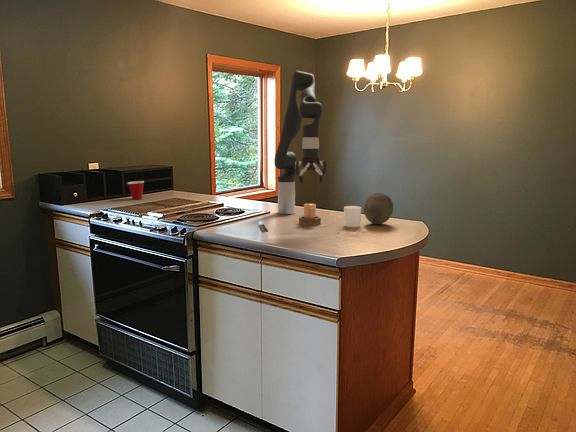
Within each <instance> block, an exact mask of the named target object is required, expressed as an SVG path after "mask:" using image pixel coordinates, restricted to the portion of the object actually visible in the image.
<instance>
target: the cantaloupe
mask: <svg viewBox="0 0 576 432" xmlns="http://www.w3.org/2000/svg"><path fill="white" fill-rule="evenodd" d="M393 212H394V202H393V199H392V198H391V197H390V196H389V195H388V194H385V193H381V192H380V193H379V192H376V193H373V194H372V193H371V194H370V195H369V196H368V197H367V198H366V200H365V203H364V206H363V213H364V216H365V218H366V219H367V221H368V222H369V223H371V224H372V225H377V226H378V225H381V224H384V223H386V222H388V220H389V219H391V217H392V215H393Z"/></svg>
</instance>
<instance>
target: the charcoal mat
mask: <svg viewBox="0 0 576 432" xmlns="http://www.w3.org/2000/svg"><path fill="white" fill-rule="evenodd" d="M258 227H259V229H260V231H261V232H262V233H266V232H268V233H269V230H268V229H267V228H266V225H265V224H258Z"/></svg>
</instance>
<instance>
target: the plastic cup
mask: <svg viewBox="0 0 576 432" xmlns="http://www.w3.org/2000/svg"><path fill="white" fill-rule="evenodd" d="M127 185H128V188H129V191H130V194H131V199H132V200H134V201H136V200H137V201H138V200H139V201H140V200H142V199H143V191H144V185H145V181H144V180H137V181H129V182H127Z"/></svg>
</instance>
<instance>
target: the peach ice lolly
mask: <svg viewBox="0 0 576 432" xmlns="http://www.w3.org/2000/svg"><path fill="white" fill-rule="evenodd" d="M316 206H317V205H316V203H304V204H303V216H304V218H305V219H316V216H317V213H316V211H317V207H316Z"/></svg>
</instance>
